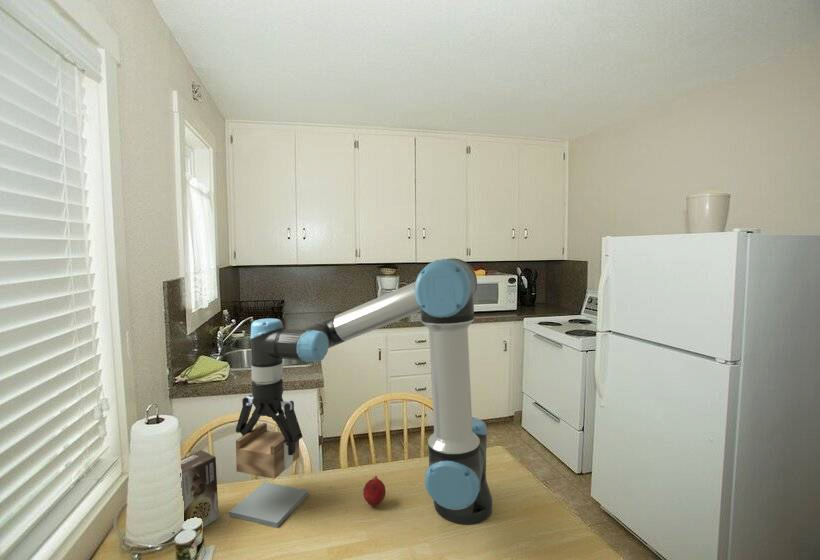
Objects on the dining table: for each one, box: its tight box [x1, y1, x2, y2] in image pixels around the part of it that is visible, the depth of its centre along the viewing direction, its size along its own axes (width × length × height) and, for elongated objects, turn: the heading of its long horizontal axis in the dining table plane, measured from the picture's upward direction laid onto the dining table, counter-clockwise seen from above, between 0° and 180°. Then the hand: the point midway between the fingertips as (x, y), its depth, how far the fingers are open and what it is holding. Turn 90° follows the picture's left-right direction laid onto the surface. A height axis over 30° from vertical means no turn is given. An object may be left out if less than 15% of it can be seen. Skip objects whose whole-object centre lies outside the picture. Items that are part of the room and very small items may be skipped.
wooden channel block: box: [235, 422, 300, 480], centre depth 106 cm, size 11×11×8 cm
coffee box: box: [180, 449, 219, 528], centre depth 99 cm, size 9×6×16 cm
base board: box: [228, 481, 309, 529], centre depth 107 cm, size 14×14×1 cm
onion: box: [362, 474, 387, 507], centre depth 107 cm, size 6×6×8 cm
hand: (269, 462), depth 107 cm, fingers closed on wooden channel block, 11 cm apart
